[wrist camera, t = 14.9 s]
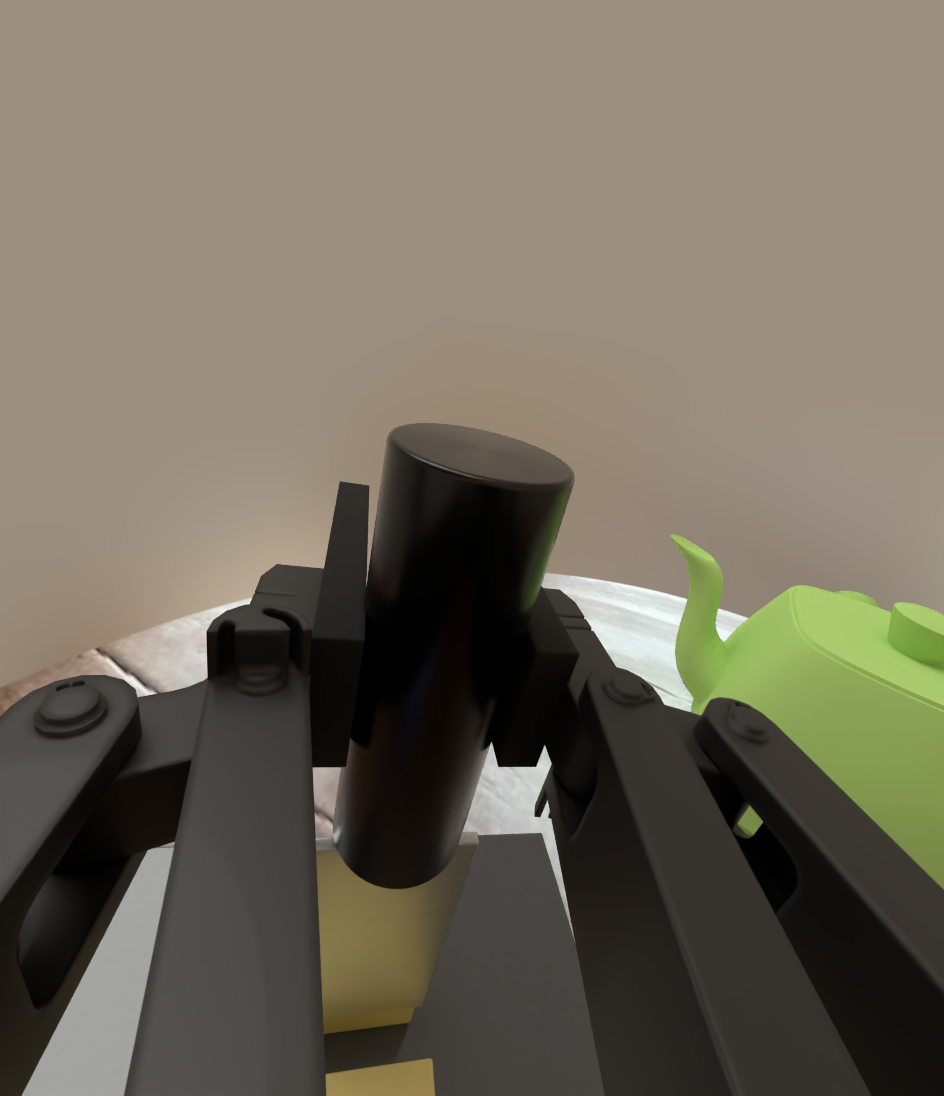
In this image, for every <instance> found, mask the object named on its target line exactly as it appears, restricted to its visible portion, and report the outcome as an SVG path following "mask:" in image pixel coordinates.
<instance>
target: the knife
mask: <svg viewBox="0 0 944 1096" xmlns="http://www.w3.org/2000/svg"><path fill="white" fill-rule="evenodd" d="M574 481H575V478H574V472H573V470H572V469H571V468H570V467H569V466H568V465H567V464H566V463H565V462H563V461H562V460H561V459H559V458H557V457H556V456H554V455H552V454H551V453H549V452H547V451H545V450H543V449H540V448H538V447H536V446H533V445H531V444H528V443H525V442H523V441H520V440H516V439H514V438H510V437H507V436H503V435H500V434H496V433H492V432H488V431H484V430H479V429H474V428H469V427H462V426H456V425H448V424H436V423H416V424H409V425H403V426H399V427H396V428H394V429H393V430H392V431H391V432H390V433H389V435H388V437H387V443H386V450H385V457H384V464H383V471H382V479H381V486H380V493H379V500H378V507H377V514H376V522H375V528H374V536H373V543H372V550H371V558H370V564H369V571H368V578H367V585H366V593H365V600H364V610H365V642H364V649H363V656H362V662H361V669H360V676H359V683H358V690H357V697H356V703H355V710H354V717H353V724H352V731H351V737H350V744H349V751H348V758H347V765H346V767H341V771H340V778H339V785H338V793H337V800H336V807H335V814H334V821H333V834H334V837H327V838H316V862H317V885H318V909H319V932H320V956H321V979H322V1003H323V1019H326V1018H334V1017H342V1016H349V1015H357V1014H365V1013H373V1012H381V1011H389V1010H397V1009H405V1008H413V1007H421V1006H423V1003H424V1000H425V997H426V994H427V991H428V988H429V986H430V983H431V980H432V977H433V974H434V971H435V968H436V965H437V963H438V960H439V957H440V954H441V951H442V948H443V945H444V943H445V940H446V937H447V934H448V931H449V928H450V925H451V922H452V920H453V917H454V914H455V911H456V908H457V905H458V902H459V900H460V897H461V894H462V891H463V888H464V885H465V882H466V879H467V877H468V874H469V871H470V868H471V865H472V862H473V859H474V857H475V854H476V851H477V848H478V845H479V840H478V834H477V832H462V831H463V828H464V825H465V822H466V819H467V816H468V813H469V810H470V806H471V803H472V800H473V797H474V794H475V791H476V788H477V785H478V781H479V778H480V775H481V772H482V769H483V766H484V763H485V760H486V756H487V753H488V750H489V747H490V744H491V741H492V738H493V735H494V731H495V728H496V725H497V722H498V719H499V716H500V713H501V710H502V706H503V703H504V700H505V697H506V694H507V691H508V688H509V685H510V682H511V678H512V675H513V672H514V669H515V666H516V663H517V660H518V657H519V653H520V650H521V647H522V644H523V641H524V638H525V635H526V632H527V628H528V625H529V622H530V619H531V616H532V613H533V610H534V607H535V603H536V600H537V597H538V594H539V591H540V588H541V585H542V582H543V578H544V575H545V572H546V569H547V566H548V563H549V560H550V556H551V553H552V550H553V547H554V544H555V541H556V538H557V535H558V532H559V528H560V525H561V522H562V519H563V516H564V513H565V510H566V507H567V503H568V500H569V497H570V494H571V491H572V488H573V485H574Z"/></svg>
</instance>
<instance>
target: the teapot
mask: <svg viewBox="0 0 944 1096" xmlns="http://www.w3.org/2000/svg"><path fill="white" fill-rule="evenodd" d="M671 538H672V540H673V541H674V543H675V544H676V545H677V547H678V548H679V550H680V552H681V553H682V555H683V557H684V558H685V560H686V562H687V566H688V570H689V573H690V590H689V596H688V600H687V603H686V607H685V610H684V613H683V616H682V619H681V623H680V626H679V630H678V634H677V639H676V648H675V656H676V664H677V668H678V671H679V674H680V676H681V679H682V681H683V683H684V685H685V686H686V688H687V689H688V691H689V692H690V693H691V695H692V696H693V703H692V709H691V713H694V714H698V715H702V713H703V711H704V709H705V708H706V706H707V704H708V703H709V701H710V700H711V699H714V698H718V697H723V698H731V699H734V700H738V701H740V702H744V703H746V704H748V705H750V706H752V707H753V708H754V709H756V710H758V711H760V712H761V713H763V714H764V715H765V716H766V717H768V718H769V719H770V720H771V721H772V722H774V723H775V724H776V725H777V726H778V727H779V728H780V729H781V730H782V731H783V732H784V733H785V734H786V735H787V736H788V737H789V738H790V739H791V740H792V741H793V742H794V743H795V744H796V745H797V746H798V747H799V748H800V749H801V750H802V751H803V752H804V753H805V754H806V755H807V756H808V757H809V758H810V759H811V760H812V761H813V762H814V763H816V764H817V765H818V766H819V767H820V768H821V769H822V770H823V771H824V772H825V773H826V774H827V775H828V776H829V777H830V778H831V779H832V780H833V781H834V782H835V783H836V784H837V785H838V786H839V787H840V788H841V789H842V790H843V791H844V792H845V793H846V794H847V795H848V796H849V797H850V798H851V799H852V800H853V801H854V802H855V803H856V804H857V805H858V806H859V807H860V808H861V809H862V810H863V811H864V812H865V813H866V814H867V815H868V816H869V817H870V818H871V819H872V820H873V821H874V822H876V823H877V824H878V825H879V826H880V827H881V828H882V829H883V830H884V831H885V832H886V833H887V834H888V835H889V836H890V837H891V838H892V839H893V840H894V841H895V842H896V843H897V844H898V845H899V846H900V847H901V848H902V849H903V850H904V851H905V852H906V853H907V854H908V855H909V856H910V857H911V858H912V859H913V860H914V861H915V862H916V863H917V864H918V865H919V866H920V867H921V868H922V869H923V870H924V871H925V872H926V873H927V874H928V875H929V876H930V877H931V878H932V879H933V880H935V881H936V882H937V883H938V884H939V885H940V886H941V887H942V888H943V889H944V615H943V614H941V613H939V612H936V611H934V610H931V609H929V608H926V607H923V606H920V605H916V604H911V603H904V602H897V603H895V604H894V607H893V610H892V613H891V612H889V611H886V610H883V609H880V608H878V603H877V602H876V601H875V600H874V599H872V598H870V597H868V596H866V595H864V594H860V593H857V592H852V591H838V592H835V593H833V592H829V591H826V590H822V589H819V588H814V587H810V586H803V585H798V586H793V587H792V588H790V589H789V590H787V591H785V592H784V593H782V594H781V595H779V596H778V597H776V598H775V599H774V600H772V601H771V602H769V603H768V604H767V605H765V606H764V607H763V608H761V609H760V610H759V611H758V612H756V613H755V614H754V615H752V616H751V617H750V618H749V619H748V620H746V621H745V622H744V623H743V624H742V625H740V626H739V627H738V628H737V629H736V630H735V631H734V632H733V633H732V634H731V635H730V636H729V637H728V638H727V639H726V641H725V642H724V643H723V642H722V640H721V639H720V637H719V635H718V633H717V630H716V625H715V621H716V615H717V611H718V607H719V604H720V600H721V595H722V591H723V576H722V573H721V570H720V567H719V565H718V563H717V562H716V561H715V560H714V558H713V557H712V556H710V555H709V554H708V553H707V552H705V551H704V550H703V549H701V548H699V547H698V546H696V545H695V544H693V543H691V542H690V541H688V540H686V539H684V538H682V537H680V536H677V535H675V534H671ZM762 823H763V821H762V820H761V819H760V817H759V816H758V815H757V814H756V812H755V811H754V810H753V809H752V808H751V806H749V808H748V809H747V810H746V812H745V813H744V815H743V816H742V818H741V819H740V821H739V822H738V823H737V824H738V826H739V827H740V828H741V829H742V830H743V831H744V832H745V833H746V834H748V835H750V836H753V835H754V834H755V832H756V831H757V830H758V828H759V827H760V826H761V824H762Z"/></svg>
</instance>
